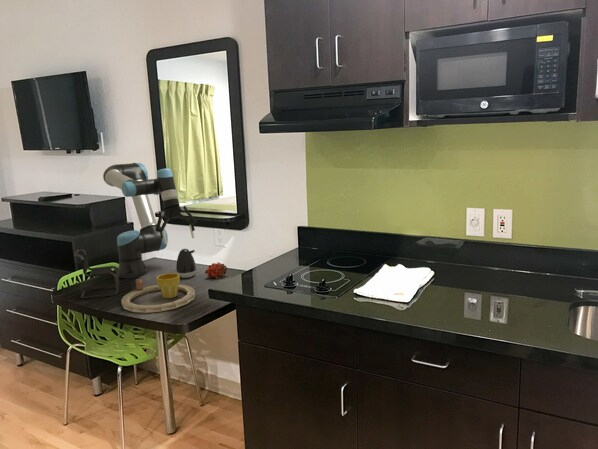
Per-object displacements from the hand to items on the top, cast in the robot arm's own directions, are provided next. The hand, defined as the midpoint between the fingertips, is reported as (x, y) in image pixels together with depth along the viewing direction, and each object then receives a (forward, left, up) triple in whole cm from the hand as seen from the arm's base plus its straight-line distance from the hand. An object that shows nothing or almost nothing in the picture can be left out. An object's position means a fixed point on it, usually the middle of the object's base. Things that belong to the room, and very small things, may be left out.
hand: (179, 241), depth 242 cm
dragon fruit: (+7, +16, -22) cm, 28 cm away
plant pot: (+9, -15, -22) cm, 29 cm away
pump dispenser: (-8, +9, -22) cm, 26 cm away
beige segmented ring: (+9, -21, -22) cm, 32 cm away
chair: (-24, -31, -22) cm, 45 cm away
